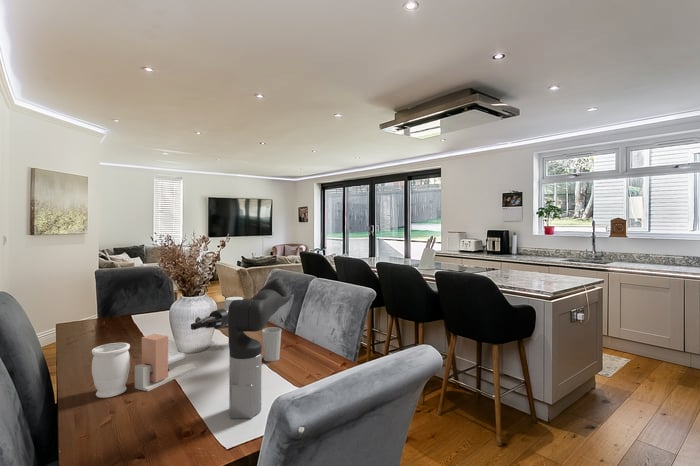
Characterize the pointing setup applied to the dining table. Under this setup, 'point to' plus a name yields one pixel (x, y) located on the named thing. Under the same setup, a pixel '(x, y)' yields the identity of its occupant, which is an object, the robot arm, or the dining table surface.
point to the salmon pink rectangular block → (156, 355)
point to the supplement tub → (230, 299)
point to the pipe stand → (145, 384)
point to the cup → (271, 343)
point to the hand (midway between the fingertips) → (192, 327)
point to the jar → (110, 369)
